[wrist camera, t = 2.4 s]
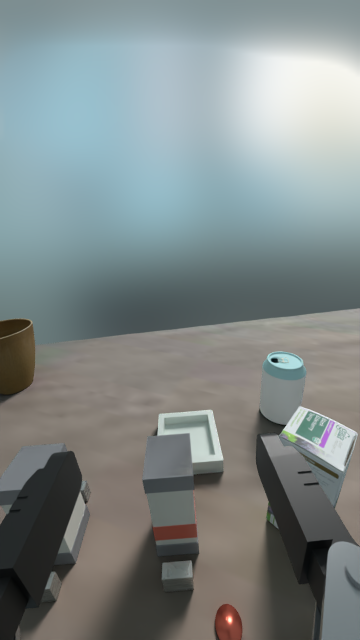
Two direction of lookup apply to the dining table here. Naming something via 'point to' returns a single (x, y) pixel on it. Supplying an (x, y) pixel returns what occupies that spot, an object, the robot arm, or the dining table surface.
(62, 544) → the block
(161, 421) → the tray
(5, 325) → the plant pot
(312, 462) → the syrup box
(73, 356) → the dining table surface
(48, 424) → the dining table surface
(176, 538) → the marked fuse
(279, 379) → the can
